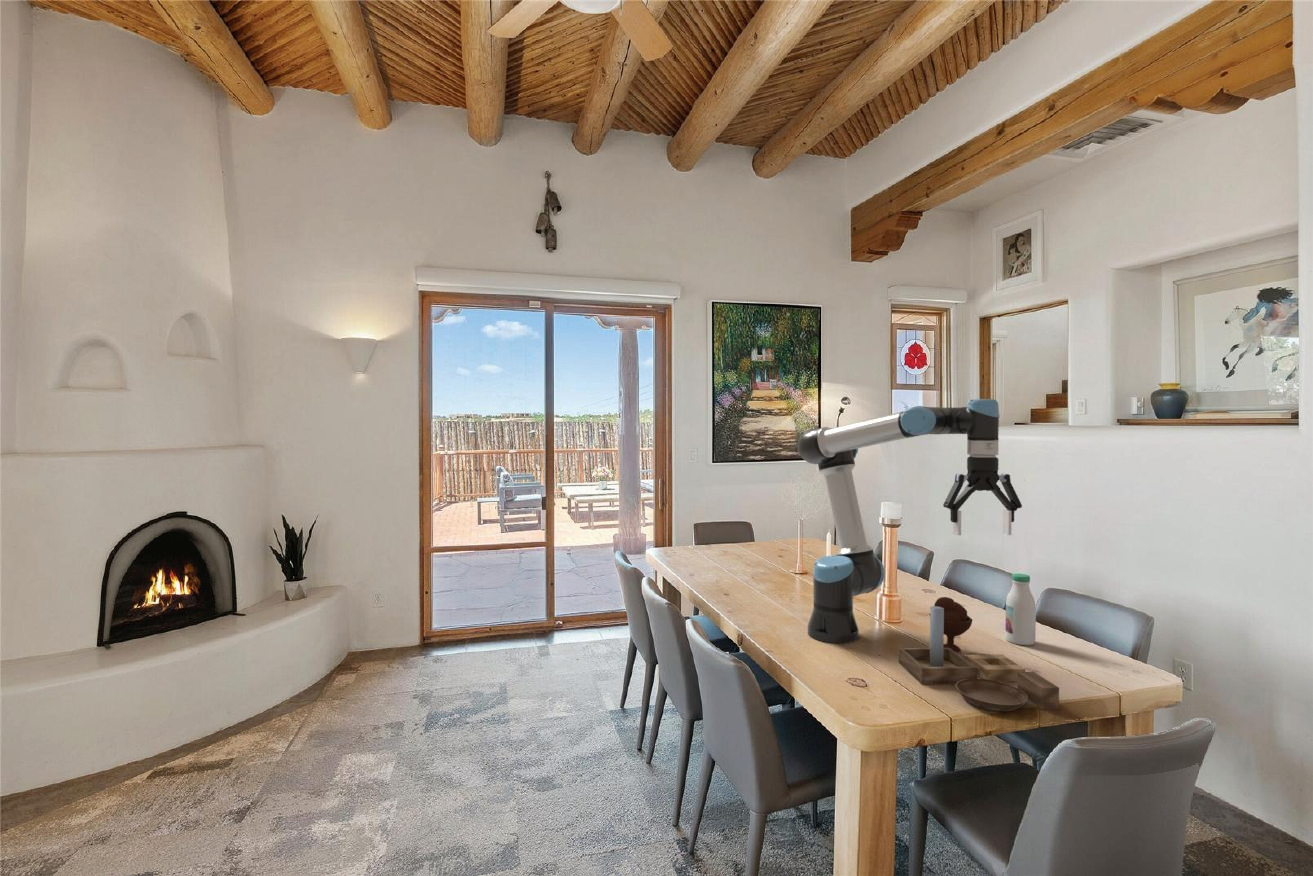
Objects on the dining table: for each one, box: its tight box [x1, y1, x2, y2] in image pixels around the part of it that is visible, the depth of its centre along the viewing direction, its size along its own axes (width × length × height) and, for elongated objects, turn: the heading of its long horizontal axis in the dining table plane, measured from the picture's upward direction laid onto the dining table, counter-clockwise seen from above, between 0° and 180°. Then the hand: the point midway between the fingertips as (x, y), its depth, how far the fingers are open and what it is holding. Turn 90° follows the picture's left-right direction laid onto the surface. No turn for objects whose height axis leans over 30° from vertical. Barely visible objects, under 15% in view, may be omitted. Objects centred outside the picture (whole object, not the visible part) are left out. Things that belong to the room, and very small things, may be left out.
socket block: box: [964, 654, 1026, 682], centre depth 160 cm, size 10×10×3 cm
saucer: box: [955, 678, 1029, 712], centre depth 144 cm, size 15×15×3 cm
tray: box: [898, 647, 978, 685], centre depth 160 cm, size 14×14×4 cm
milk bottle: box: [1004, 573, 1037, 646], centre depth 183 cm, size 8×8×20 cm
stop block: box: [1016, 671, 1060, 711], centre depth 144 cm, size 4×9×5 cm, turn 1°
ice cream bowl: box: [934, 596, 973, 654], centre depth 177 cm, size 11×11×15 cm
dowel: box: [929, 606, 945, 667], centre depth 160 cm, size 3×3×16 cm
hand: (982, 534), depth 167 cm, fingers open, 13 cm apart
